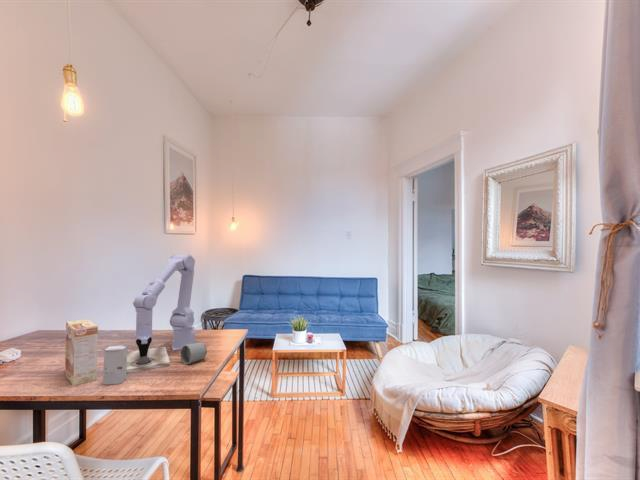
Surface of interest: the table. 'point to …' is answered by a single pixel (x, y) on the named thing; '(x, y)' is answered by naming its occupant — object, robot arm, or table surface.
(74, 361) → the coffeecake box
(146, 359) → the ball
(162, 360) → the board
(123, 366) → the skincare box
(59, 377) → the table surface
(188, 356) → the ceramic mug
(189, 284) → the robot arm
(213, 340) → the table surface
